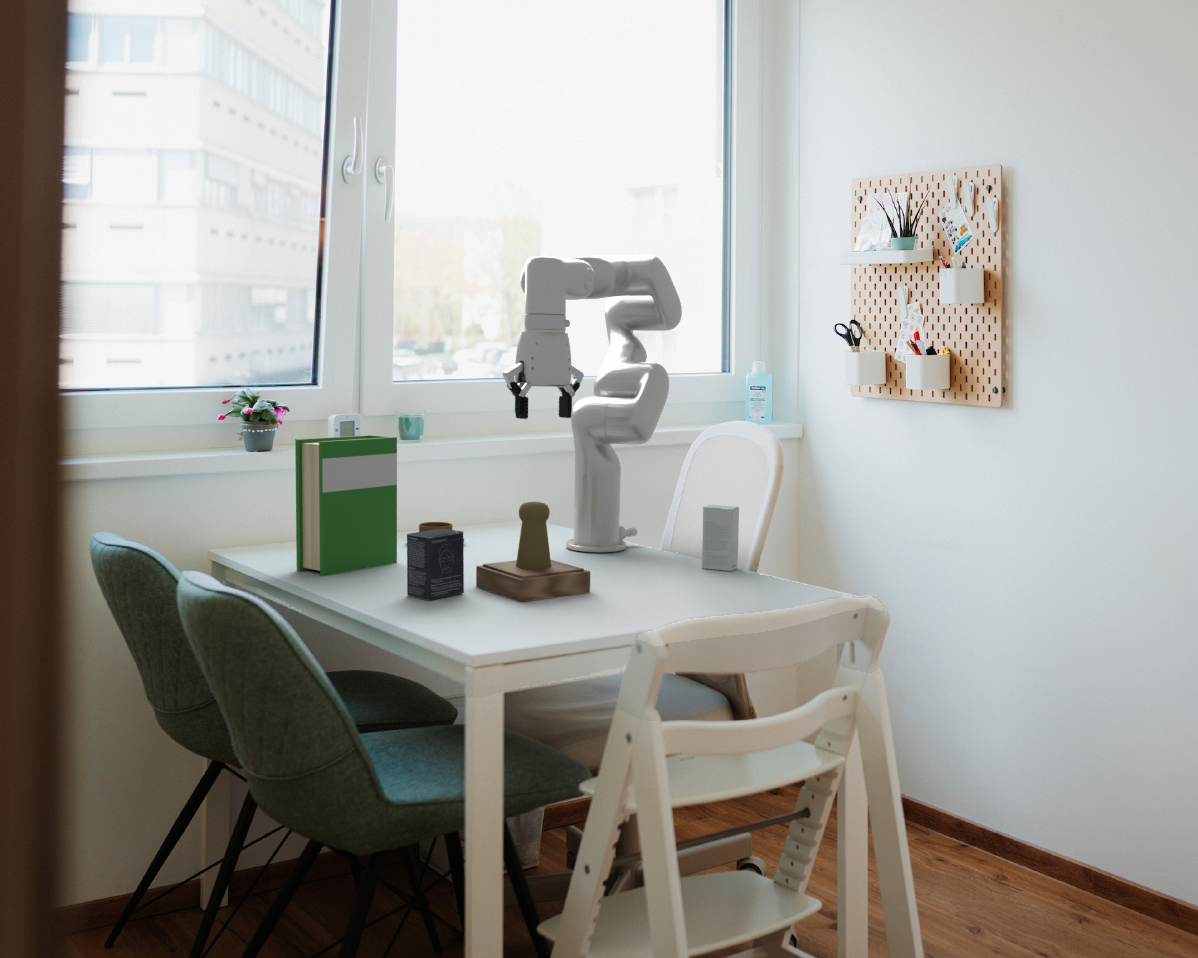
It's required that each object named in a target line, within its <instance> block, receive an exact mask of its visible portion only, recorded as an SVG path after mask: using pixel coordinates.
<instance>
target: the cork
mask: <svg viewBox="0 0 1198 958" xmlns="http://www.w3.org/2000/svg"><path fill="white" fill-rule="evenodd" d="M550 512H551V511H550V508H549V506H548V504H546V503H545V502H540V501H529V502H524V503H521V505H520V507H519V509H518V516H519V519H520V520H521V528H520V535H519V542H518V549H517V558H516V560H517V562H516V567H518V568H521V569H529V570H538V569H547V568H550V567H551V560H552V559H551V553H550V545H549V544H550V543H549V536H548V527H547V526H548V525H547V521H548V520H549V517H550Z"/></svg>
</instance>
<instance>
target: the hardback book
mask: <svg viewBox="0 0 1198 958" xmlns="http://www.w3.org/2000/svg"><path fill="white" fill-rule="evenodd" d="M294 444H295V448H294V449H295V453H294V454H295V527H296V528H295V529H296V530H295V533H296V534H295V535H296V538H295V539H296V541H295V542H296V543H295V544H296V545H295V546H296V572H304V571H309V570H314V571H318V572H319V576H320V577H327V576H332V575H337V574H338V575H339V574H343V573H347V572H348V573H349V572H354V571H361V570H363V569H365V570H366V569H370V568H375V567H381V566H386V565H391V564H397V562H398V437H396V436H387V435H385V436H384V435H377V434H376V435H374V434H373V435H372V434H366V435H364V434H363V435H350V436H349V435H348V436H346V435H345V436H330V437H316V438H315V437H313V438H297V439H295V440H294Z"/></svg>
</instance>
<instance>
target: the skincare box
mask: <svg viewBox="0 0 1198 958" xmlns="http://www.w3.org/2000/svg"><path fill="white" fill-rule="evenodd" d="M739 517H740V507H739V506H733V505H732V506H731V505H717V504H709V505H707V506H706V505H704V506H703V507H702V547H701V550H702V551H701V552H702V553H701V555H702V557H701V568H702V569H703V570H713V571H714V570H715V571H723V572H725V571H726V572H732V571H734V570H736V569H738V568H739V566H738V565H739V559H738V558H739V525H740V519H739Z"/></svg>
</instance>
